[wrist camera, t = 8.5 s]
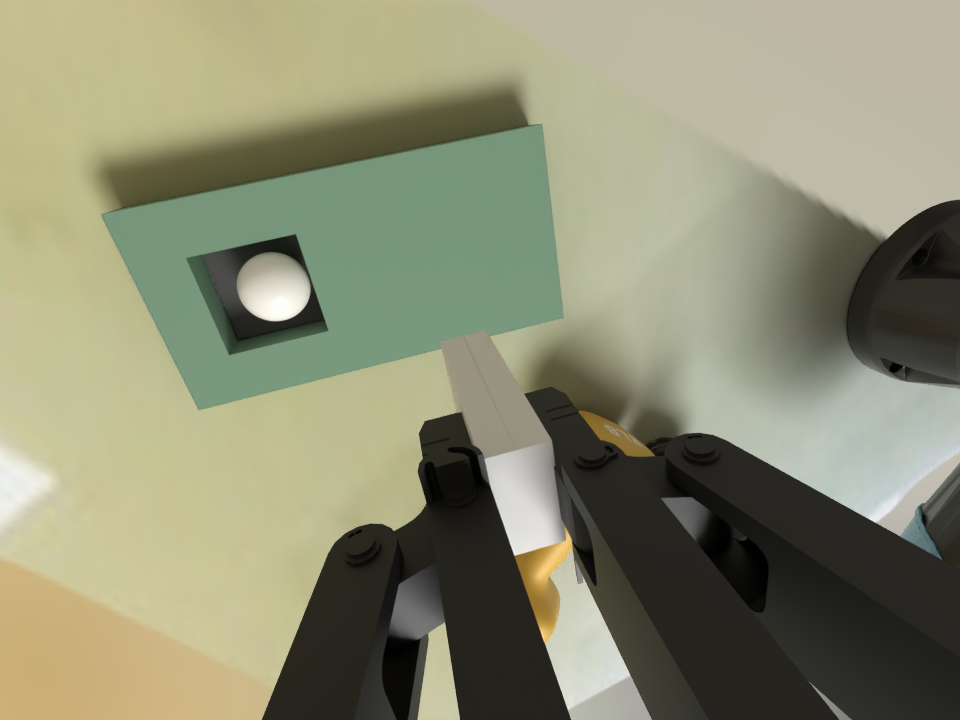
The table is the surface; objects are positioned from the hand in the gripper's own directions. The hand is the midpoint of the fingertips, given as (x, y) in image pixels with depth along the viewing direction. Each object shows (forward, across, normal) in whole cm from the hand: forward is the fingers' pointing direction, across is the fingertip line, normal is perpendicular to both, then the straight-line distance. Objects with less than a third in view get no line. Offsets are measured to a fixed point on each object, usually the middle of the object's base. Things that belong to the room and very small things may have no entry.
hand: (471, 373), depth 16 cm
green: (+18, +4, 0) cm, 18 cm away
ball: (+16, +9, -1) cm, 18 cm away
